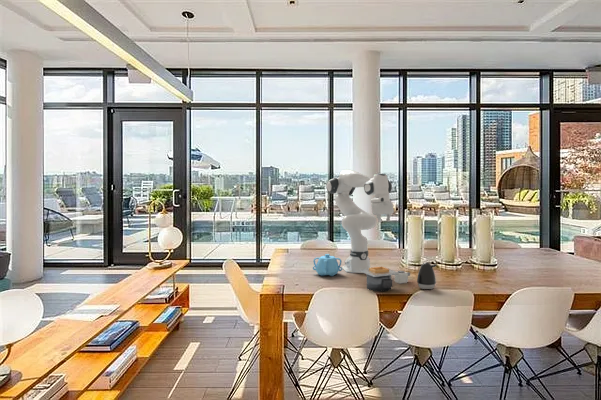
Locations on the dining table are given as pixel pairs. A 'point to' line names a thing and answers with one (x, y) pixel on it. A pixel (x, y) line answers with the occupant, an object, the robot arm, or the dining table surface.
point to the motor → (379, 280)
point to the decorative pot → (327, 265)
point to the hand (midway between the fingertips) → (384, 221)
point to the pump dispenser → (426, 276)
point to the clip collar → (378, 269)
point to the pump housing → (402, 277)
